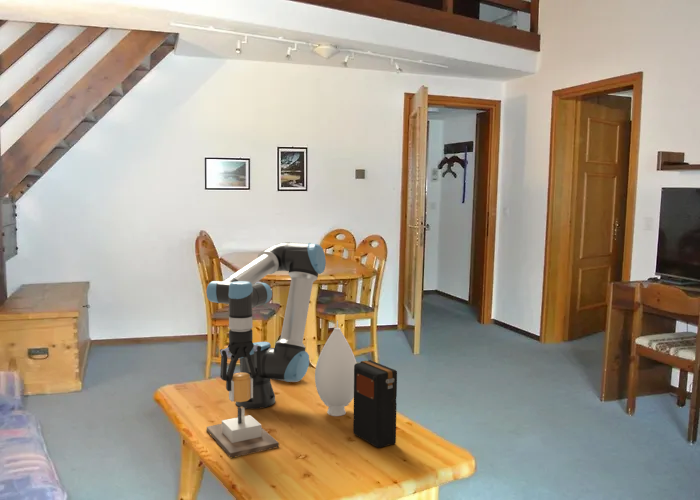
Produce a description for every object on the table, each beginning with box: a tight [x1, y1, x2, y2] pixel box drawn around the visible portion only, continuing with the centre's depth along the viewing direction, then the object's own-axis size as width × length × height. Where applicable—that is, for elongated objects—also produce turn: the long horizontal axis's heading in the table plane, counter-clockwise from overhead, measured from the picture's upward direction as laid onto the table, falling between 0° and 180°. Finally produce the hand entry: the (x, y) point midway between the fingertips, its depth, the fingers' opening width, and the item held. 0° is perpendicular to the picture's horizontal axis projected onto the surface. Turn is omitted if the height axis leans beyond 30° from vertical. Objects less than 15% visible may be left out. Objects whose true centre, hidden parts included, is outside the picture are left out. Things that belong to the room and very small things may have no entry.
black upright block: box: [352, 359, 398, 449], centre depth 196 cm, size 16×9×25 cm, turn 35°
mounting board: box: [206, 423, 280, 458], centre depth 196 cm, size 16×24×2 cm, turn 31°
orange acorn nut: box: [232, 372, 250, 403], centre depth 195 cm, size 6×6×8 cm
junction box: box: [221, 407, 262, 443], centre depth 196 cm, size 10×10×9 cm
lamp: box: [314, 319, 358, 417], centre depth 219 cm, size 16×16×35 cm
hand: (241, 398), depth 195 cm, fingers closed on orange acorn nut, 6 cm apart
